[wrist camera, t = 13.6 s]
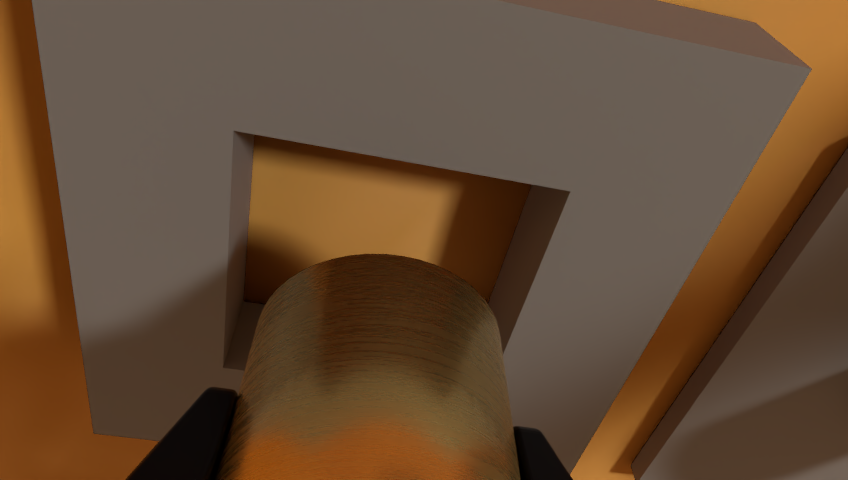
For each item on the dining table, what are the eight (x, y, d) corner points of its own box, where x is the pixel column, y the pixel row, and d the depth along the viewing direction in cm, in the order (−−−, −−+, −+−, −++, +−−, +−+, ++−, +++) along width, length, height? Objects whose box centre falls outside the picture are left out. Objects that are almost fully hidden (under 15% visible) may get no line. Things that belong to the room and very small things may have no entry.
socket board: (755, 22, 11) (812, 69, 10) (548, 420, 18) (562, 487, 16) (82, -130, 10) (16, -105, 8) (125, 365, 16) (93, 433, 15)
